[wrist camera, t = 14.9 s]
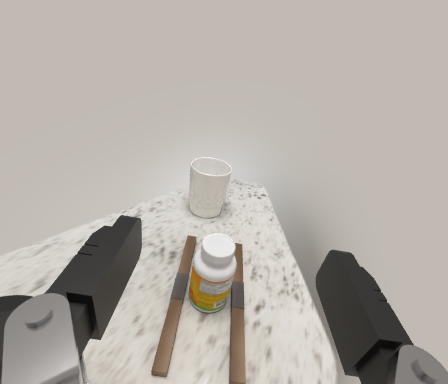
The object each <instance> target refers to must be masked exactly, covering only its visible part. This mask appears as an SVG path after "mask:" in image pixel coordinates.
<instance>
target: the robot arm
mask: <svg viewBox="0 0 448 384" xmlns="http://www.w3.org/2000/svg"><path fill="white" fill-rule="evenodd" d="M141 248H142V231H141V219H140V218H136V217H130V216H124V215H121V216H120V217H119V218H118V219H117V221H116V222H115V223H114V225H113V226H112V227H110V226H103V227H102V228H100V229H99V230H97V231H96V232H94V233H93V234H92V235H91V236H90V237H89V239H88V240H87V241H86V242H85V244H84V246H82V248H81V249H80V250H79V251H78V254H77V255H75V256H74V258H73V259H72V260H71V261H70V263H69V264H68V265H67V266H66V268H65V269H64V270H63V272H62V273H61V274H60V275H59V277H58V278H57V279H56V280H55V282H54V283H53V284H52V285H51V287H50V288H49V289H48V290H47V291H46V292H45V293H44V294H42V295H38V296H35V297H33V298H31V299H29V300H27V301H25V302H24V303H22V304H21V305H20V306H18V307H17V308H16V309H15V310H11V311H6V312H0V384H88V380H87V374H86V369H85V363H84V357H83V351H84V349H85V347H86V345H87V343H88V341H89V339H97V340H101V338H102V336H103V334H104V332H105V330H106V327H107V325H108V323H109V321H110V319H111V317H112V315H113V313H114V310H115V308H116V306H117V304H118V302H119V300H120V298H121V296H122V294H123V291H124V289H125V287H126V285H127V283H128V281H129V279H130V277H131V275H132V272H133V270H134V268H135V266H136V264H137V262H138V260H139V257H140V253H141ZM316 288H317V291H318V294H319V297H320V300H321V303H322V306H323V309H324V312H325V315H326V318H327V321H328V324H329V327H330V330H331V333H332V336H333V339H334V342H335V345H336V348H337V351H338V354H339V357H340V360H341V363H342V366H343V369H344V372H345V375H349V376H357V377H359V379H360V381H361V384H448V372H447V371H446V370H445V368H444V367H443V366H442V365H441V364H440V363H439V362H438V361H437V360H436V359H435V358H434V357H433V356H432V355H430V354H429V353H428V352H426V351H425V350H423V349H421V348H419V347H416V346H414V345H413V343H412V341H411V340H410V338H409V336H408V335H407V333H406V331H405V330H404V328H403V326H402V325H401V323H400V321H399V320H398V318H397V316H396V315H395V313H394V311H393V310H392V308H391V306H390V305H389V303H387V300H386V298H385V296H384V295H383V293H381V290H380V288H379V286H378V285H377V283H376V281H375V280H374V278H373V277H372V276H371V275H370V274H369V273H368V272H367V271H366V270H365V269H364V268H363V267H360V266H359V264H358V263H357V261H356V259H355V257H354V255H353V254H352V253H350V252H343V251H337V250H331V251H329V253H328V255H327V256H326V258H325V260H324V262H323V264H322V265H321V267H320V269H319V271H318V273H317V275H316Z"/></svg>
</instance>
